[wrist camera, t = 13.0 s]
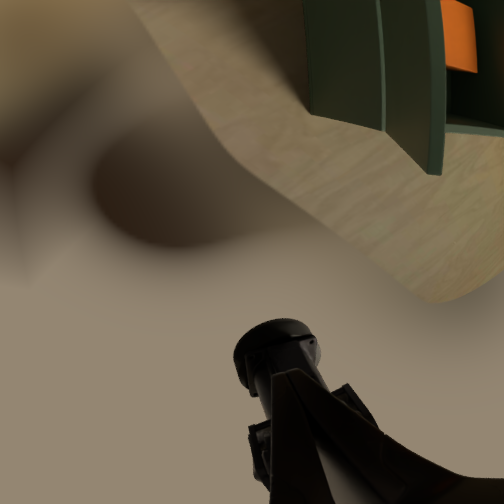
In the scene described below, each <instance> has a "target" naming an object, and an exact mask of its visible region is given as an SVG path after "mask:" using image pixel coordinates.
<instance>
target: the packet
mask: <svg viewBox="0 0 504 504" xmlns="http://www.w3.org/2000/svg"><path fill="white" fill-rule="evenodd" d="M440 2H441V9H442V18H443V28H444V40H445V56H446V70H451V71H461V72H470V73H477V50H476V36H475V26H474V17H473V9H472V8H471V7H469V6H467V5H465V4H462V3H460V2H458V1H456V0H440Z"/></svg>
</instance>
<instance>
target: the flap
mask: <svg viewBox="0 0 504 504" xmlns="http://www.w3.org/2000/svg"><path fill="white" fill-rule="evenodd" d="M380 9H381V19H382V30H383V43H384V60H385V88H386V133H387V134H388V135H389V136H390V137H391V138H392V139H393V140H394V141H395V142H396V143H397V144H398V145H399V146H400V147H401V148H402V149H403V150H404V151H405V152H406V153H407V154H408V155H409V156H410V157H411V158H412V159H413V160H414V161H415V162H416V163H417V164H418V165H419V166H420V167H421V168H422V169H423V170H424V171H425V172H426V174H428V175H438V176H440V175H442V168H443V157H444V144H445V127H446V56H445V40H444V28H443V18H442V9H441V2H440V0H380Z"/></svg>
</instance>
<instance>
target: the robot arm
mask: <svg viewBox="0 0 504 504" xmlns="http://www.w3.org/2000/svg"><path fill="white" fill-rule="evenodd" d="M316 346H317V339H316V337H315V336H314V335H309V336H306V337H302V338H298V339H294V340H290V341H287V342H283V343H279V344H275V345H271V346H266V347H262V348H258V349H254V350H250V351H247V352H246V353H245V355H244V356H245V364H246V371H247V378H248V386H249V393H250V395H251V397H259V398H260V401H261V404H262V407H263V410H264V412H265V415H266V418H267V420H266V421H264V422H262V423H259V424H256V425H255V424H253V425H250V426H248V428H249V433H250V434H249V435H248V436H249V437H248V439H249V443H250V447H251V452H252V457H253V475H254V478H255V479H256V480H257V481H260V482H262V483H263V484H264V486H265V487H266V488H267V489H268V491H269V492H270V501H269V504H504V479H503V478H474V477H467V476H462V475H459V474H456V473H454V472H452V471H450V470H447V469H445V468H443V467H441V466H439V465H437V464H435V463H433V462H431V461H429V460H427V459H425V458H423V457H421V456H420V455H418V454H416V453H414V452H412V451H410V450H409V449H407V448H405V447H404V446H403V445H401V444H399V443H398V442H396V441H395V440H394V439H392V438H391V437H389V436H388V435H384V432H382V431H381V430H380V429H379V428H378V425H377V423H376V421H375V419H374V418H373V416H372V414H371V413H370V412H369V410H368V409H367V408H366V406H365V405H364V404H363V402H362V401H361V400H360V399H359V397H358V396H357V394H356V393H355V392H354V390H353V389H352V388H351V386H350V385H349V384H348V383H347V384H345V385H343V386H342V387H341V388H339V389H337V390H335V391H333V392H331V393H330V391H329V389H328V387H327V386H326V384H325V382H324V380H323V378H322V376H321V375H320V373H319V371H318V369H317V367H316V366H315V358H316Z"/></svg>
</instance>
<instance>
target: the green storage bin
mask: <svg viewBox="0 0 504 504" xmlns="http://www.w3.org/2000/svg"><path fill="white" fill-rule="evenodd" d="M302 1H303V11H304V22H305V34H306V47H307V62H308V78H309V97H310V114H311V115H316V116H320V117H325V118H330V119H334V120H339V121H343V122H348V123H352V124H356V125H360V126H364V127H368V128H372V129H375V130H379V131H386V88H385V60H384V43H383V30H382V19H381V9H380V0H302ZM456 1H458V2H460V3H462V4H465V5H467V6H469V7H471V8H472V9H473V17H474V26H475V36H476V50H477V73H470V72H461V71H451V70H446V127H445V133H458V134H472V135H483V136H493V137H503V138H504V0H456Z"/></svg>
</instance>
